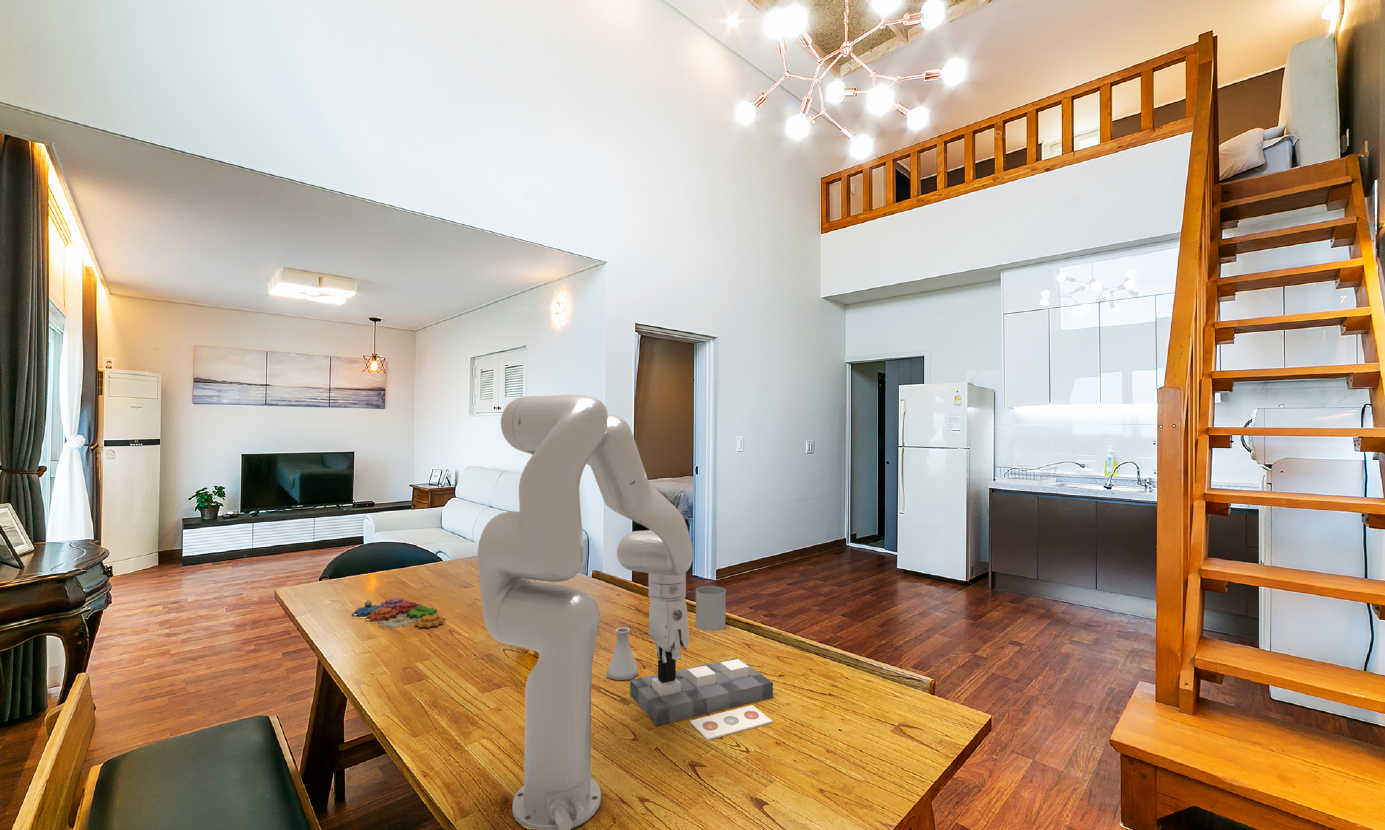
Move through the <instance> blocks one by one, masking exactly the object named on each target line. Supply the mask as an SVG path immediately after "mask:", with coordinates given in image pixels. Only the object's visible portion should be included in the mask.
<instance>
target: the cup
mask: <svg viewBox="0 0 1385 830" xmlns="http://www.w3.org/2000/svg"><path fill="white" fill-rule="evenodd" d="M726 599H727V597H726V588H723V587H721V586H716V585H715V586H714V585H705V586H700V587H697V588H696V589H695V628H696V627H698V628H699V629H701V630H700V631H703V630H710V631H709V632H715V631H714V630H719V631H722V629H723V628H724V627H725V628H726ZM698 628H697V629H698ZM725 628H724V629H725ZM699 629H698V630H699ZM724 629H723V630H724ZM711 630H712V631H711Z"/></svg>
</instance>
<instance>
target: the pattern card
mask: <svg viewBox="0 0 1385 830" xmlns="http://www.w3.org/2000/svg"><path fill="white" fill-rule="evenodd" d="M689 723H690V725H691V726H693V727H694V728H695V729H696V731H698V733H700V735H701V736H702V737H703V738H705V740H706V741H711V740H715V739H718V738H721V737H725V736H729V735H732V734H736V733H739V732H743V731H746V730H751V729H755V728H757V727H758V728H759V727H761V726H765V725H769V724H772V723H774V722H773V719H771V718H769V717H768V716H767V715H766V714H765V713H764V712H763V711H761V710H760V709H758V708H757V707H755V705H753V704H751V705H746V706H743V707H739V708H735V709H732V710H727V711H723V712H719V713H715V714H711V715H706V716H704V717H699V718H695V719H692V720H691V719H690V720H689Z"/></svg>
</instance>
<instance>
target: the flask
mask: <svg viewBox="0 0 1385 830" xmlns="http://www.w3.org/2000/svg"><path fill="white" fill-rule="evenodd" d="M630 629H631V628H629V627H624V626H623V627H618V628H616V629H615V633H616V643H615V648H614V650H613V654H612V657H611V659H610V662H609V665H608V668H607V671H606V678H609V679H613V680H615V681H627V680H629V681H630V680H632V679H635V677H637V676H638V675H639V669H638V666H637V663H636V660H635V657H634V654H633V652H632V648H631V644H630V640H629V634H630V632H631V631H630Z"/></svg>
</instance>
